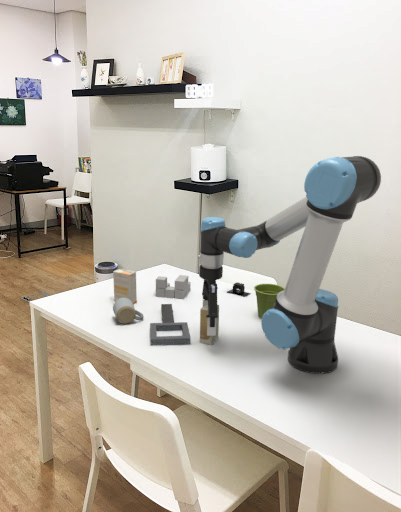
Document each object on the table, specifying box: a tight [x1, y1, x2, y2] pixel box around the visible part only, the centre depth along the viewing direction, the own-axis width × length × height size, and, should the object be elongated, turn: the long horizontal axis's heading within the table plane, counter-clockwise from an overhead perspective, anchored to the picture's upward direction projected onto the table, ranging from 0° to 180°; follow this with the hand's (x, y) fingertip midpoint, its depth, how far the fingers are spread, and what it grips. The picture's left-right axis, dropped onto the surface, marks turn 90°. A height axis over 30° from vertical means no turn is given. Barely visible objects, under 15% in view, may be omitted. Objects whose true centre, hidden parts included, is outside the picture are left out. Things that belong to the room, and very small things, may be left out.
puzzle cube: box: [155, 274, 192, 300], centre depth 206 cm, size 12×12×8 cm
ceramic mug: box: [112, 298, 145, 325], centre depth 178 cm, size 11×8×8 cm
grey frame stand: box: [149, 303, 192, 346], centre depth 175 cm, size 31×13×2 cm, turn 6°
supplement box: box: [112, 268, 138, 305], centre depth 194 cm, size 8×5×13 cm, turn 58°
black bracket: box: [226, 282, 252, 298], centre depth 209 cm, size 12×7×5 cm, turn 54°
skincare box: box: [199, 303, 220, 346], centre depth 162 cm, size 6×4×12 cm
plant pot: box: [253, 283, 285, 319], centre depth 183 cm, size 12×12×11 cm
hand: (208, 326), depth 163 cm, fingers open, 13 cm apart
